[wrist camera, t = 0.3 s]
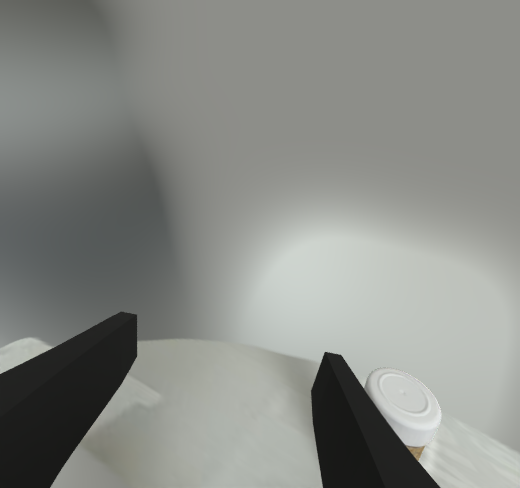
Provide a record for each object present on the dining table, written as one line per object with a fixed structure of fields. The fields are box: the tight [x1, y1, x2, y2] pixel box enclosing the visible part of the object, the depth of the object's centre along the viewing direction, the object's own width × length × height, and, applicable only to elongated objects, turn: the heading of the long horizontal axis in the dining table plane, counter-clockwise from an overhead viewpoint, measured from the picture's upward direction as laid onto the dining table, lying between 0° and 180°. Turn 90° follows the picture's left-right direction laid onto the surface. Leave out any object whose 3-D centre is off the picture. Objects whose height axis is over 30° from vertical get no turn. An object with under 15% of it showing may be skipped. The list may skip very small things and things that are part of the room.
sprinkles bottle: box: [364, 368, 441, 461], centre depth 19 cm, size 5×5×14 cm
